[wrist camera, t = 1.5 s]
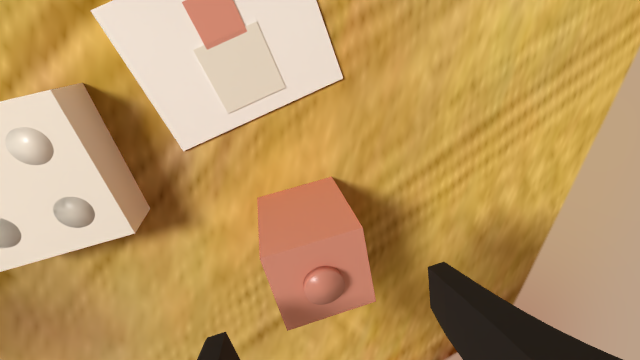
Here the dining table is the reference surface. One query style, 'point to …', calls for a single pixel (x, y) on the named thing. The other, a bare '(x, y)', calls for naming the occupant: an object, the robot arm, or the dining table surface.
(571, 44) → the dining table surface
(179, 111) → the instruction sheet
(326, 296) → the red brick
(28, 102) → the base brick
